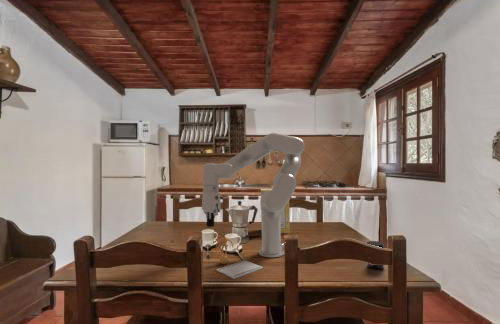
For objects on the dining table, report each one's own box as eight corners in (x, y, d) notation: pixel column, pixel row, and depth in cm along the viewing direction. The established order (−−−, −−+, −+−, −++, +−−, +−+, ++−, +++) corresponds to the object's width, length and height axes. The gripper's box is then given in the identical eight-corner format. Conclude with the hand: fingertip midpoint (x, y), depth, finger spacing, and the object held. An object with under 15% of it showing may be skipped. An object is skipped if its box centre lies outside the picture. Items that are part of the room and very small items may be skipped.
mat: (244, 261, 132) (244, 260, 132) (262, 268, 123) (262, 266, 123) (216, 270, 121) (216, 269, 121) (234, 278, 112) (234, 277, 112)
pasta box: (261, 233, 183) (260, 190, 183) (261, 229, 194) (260, 188, 194) (289, 233, 182) (289, 190, 183) (288, 229, 193) (287, 188, 193)
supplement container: (365, 264, 126) (364, 240, 126) (380, 264, 125) (380, 241, 125) (369, 269, 119) (369, 245, 119) (386, 270, 119) (386, 245, 119)
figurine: (213, 265, 128) (213, 238, 128) (217, 260, 134) (217, 235, 134) (231, 265, 126) (231, 239, 127) (234, 261, 132) (234, 235, 132)
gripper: (226, 189, 135) (225, 228, 134) (208, 187, 146) (208, 222, 146) (213, 190, 130) (212, 230, 129) (196, 188, 141) (195, 224, 141)
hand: (210, 226), depth 137 cm, fingers closed
